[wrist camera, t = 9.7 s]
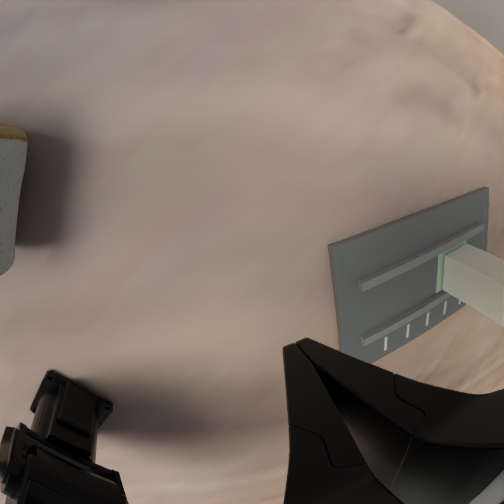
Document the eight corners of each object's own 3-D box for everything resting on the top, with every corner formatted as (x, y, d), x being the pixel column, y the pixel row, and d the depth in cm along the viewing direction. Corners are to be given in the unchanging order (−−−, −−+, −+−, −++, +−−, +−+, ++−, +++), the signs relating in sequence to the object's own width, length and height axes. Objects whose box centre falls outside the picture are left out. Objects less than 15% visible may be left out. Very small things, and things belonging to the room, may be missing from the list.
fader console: (341, 373, 28) (347, 380, 27) (328, 245, 22) (336, 250, 21) (476, 291, 32) (483, 295, 31) (484, 186, 26) (492, 188, 25)
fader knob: (442, 289, 27) (513, 334, 18) (444, 255, 26) (524, 296, 17) (463, 275, 28) (531, 314, 19) (466, 243, 26) (541, 278, 17)
